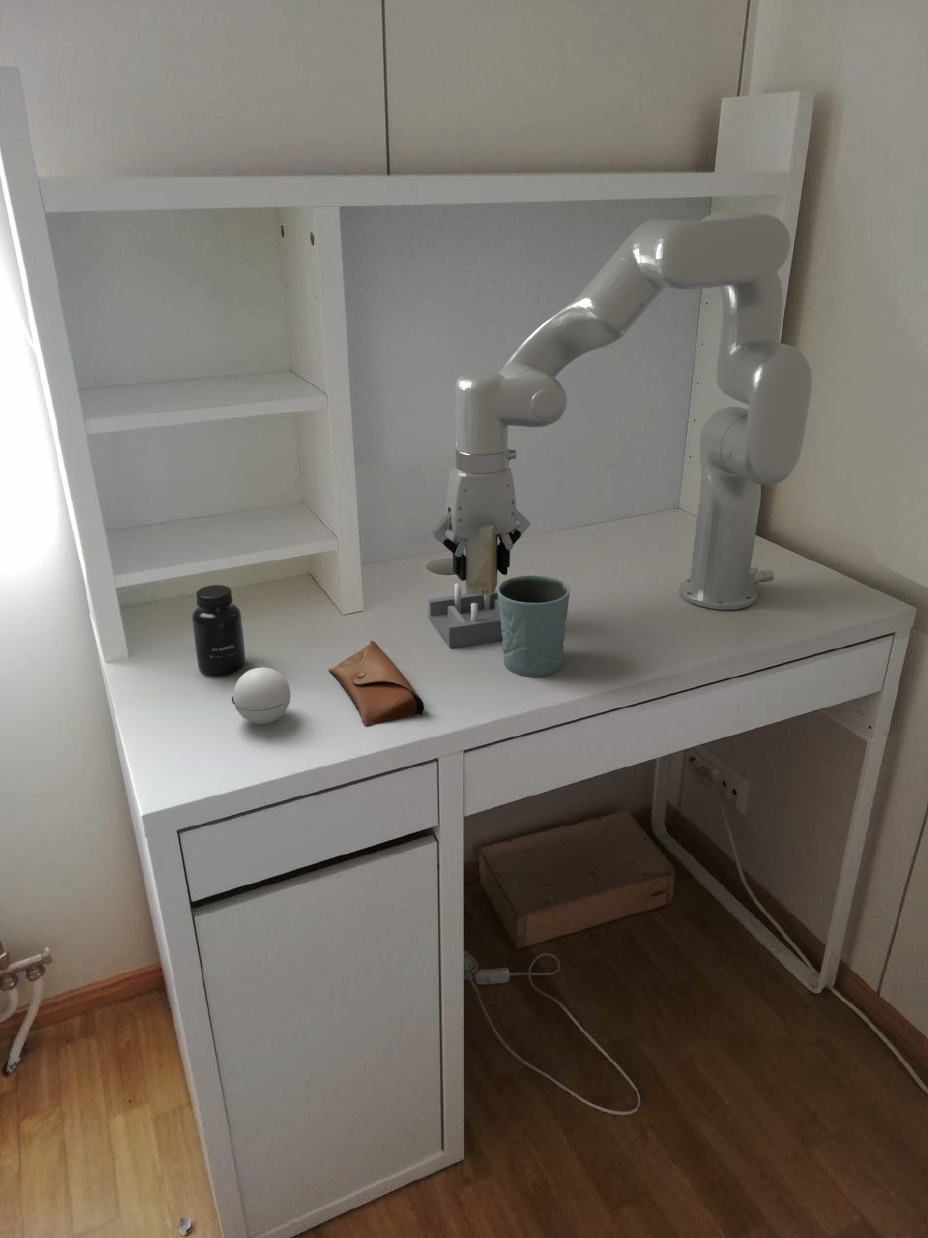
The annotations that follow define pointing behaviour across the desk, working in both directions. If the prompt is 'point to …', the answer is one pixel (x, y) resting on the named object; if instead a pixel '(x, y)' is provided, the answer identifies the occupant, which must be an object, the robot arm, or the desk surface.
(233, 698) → the white ball
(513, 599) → the teal embossed cup
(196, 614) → the supplement bottle
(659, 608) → the desk surface
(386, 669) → the sunglasses case
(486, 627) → the tray
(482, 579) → the box
